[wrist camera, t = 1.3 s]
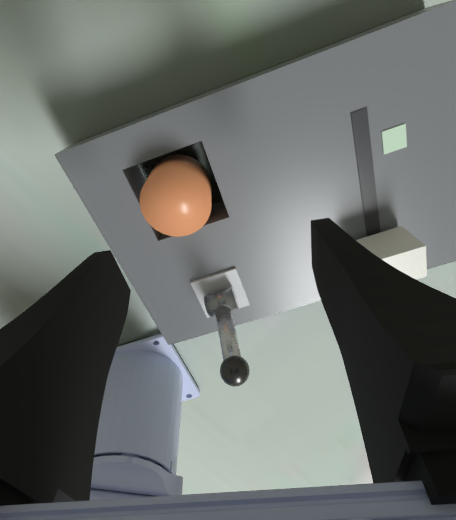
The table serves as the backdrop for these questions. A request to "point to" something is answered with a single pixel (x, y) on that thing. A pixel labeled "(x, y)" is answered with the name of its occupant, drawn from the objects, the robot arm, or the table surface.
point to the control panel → (287, 171)
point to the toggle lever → (227, 336)
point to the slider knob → (399, 251)
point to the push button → (177, 196)
